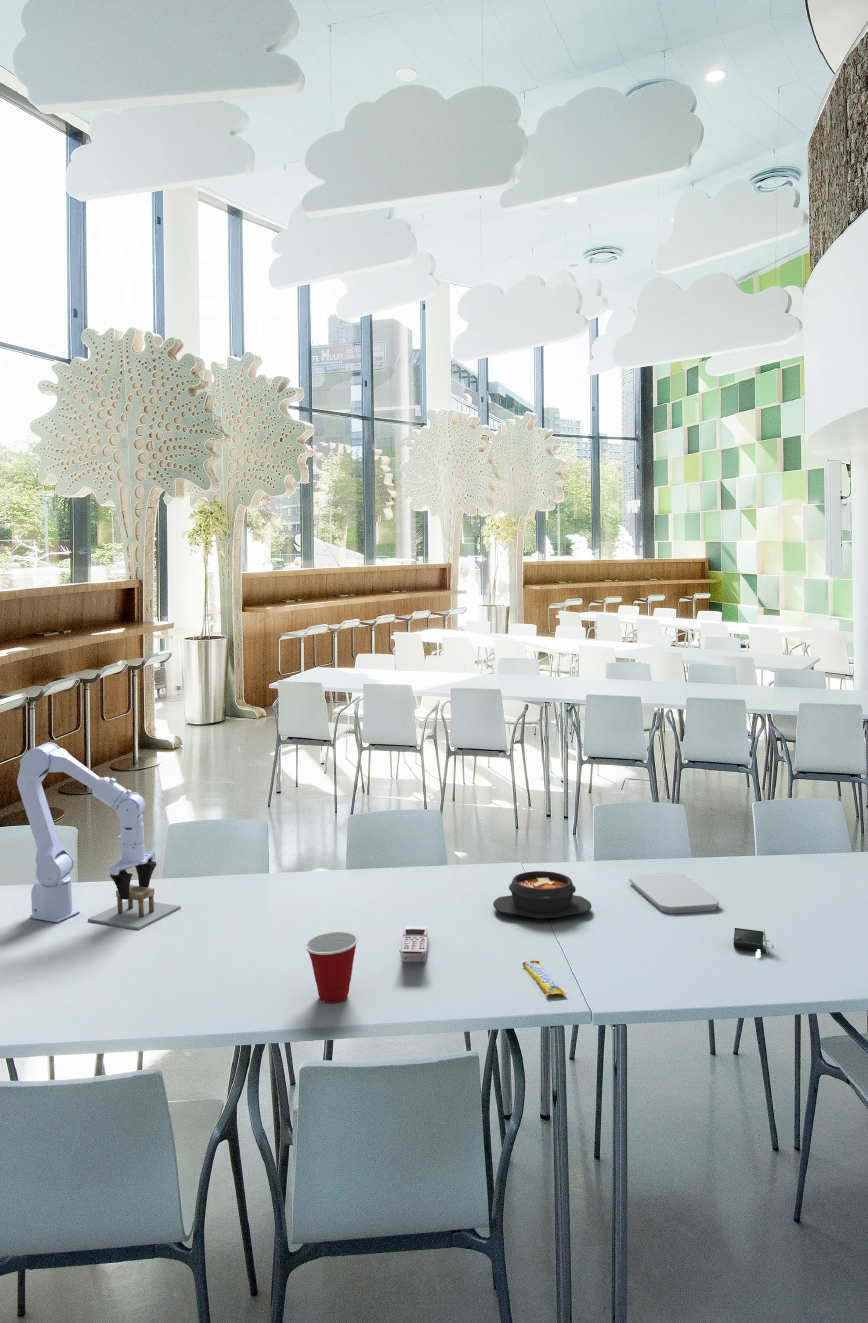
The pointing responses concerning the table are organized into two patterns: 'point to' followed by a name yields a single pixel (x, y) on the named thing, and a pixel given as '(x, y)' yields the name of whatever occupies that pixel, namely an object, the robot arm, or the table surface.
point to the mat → (134, 915)
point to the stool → (137, 894)
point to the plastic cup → (332, 963)
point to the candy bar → (542, 978)
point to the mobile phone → (414, 944)
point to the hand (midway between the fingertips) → (134, 894)
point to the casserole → (542, 896)
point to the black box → (750, 940)
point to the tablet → (674, 893)
